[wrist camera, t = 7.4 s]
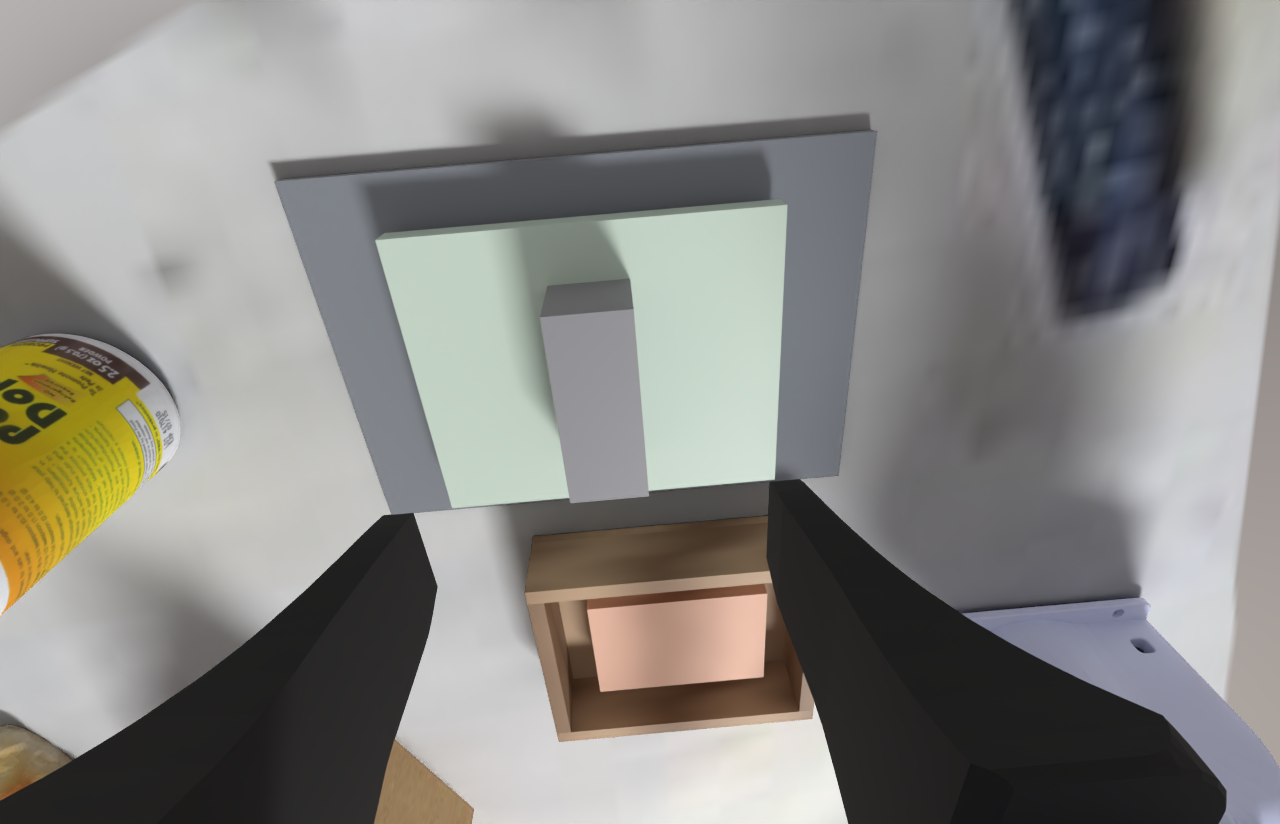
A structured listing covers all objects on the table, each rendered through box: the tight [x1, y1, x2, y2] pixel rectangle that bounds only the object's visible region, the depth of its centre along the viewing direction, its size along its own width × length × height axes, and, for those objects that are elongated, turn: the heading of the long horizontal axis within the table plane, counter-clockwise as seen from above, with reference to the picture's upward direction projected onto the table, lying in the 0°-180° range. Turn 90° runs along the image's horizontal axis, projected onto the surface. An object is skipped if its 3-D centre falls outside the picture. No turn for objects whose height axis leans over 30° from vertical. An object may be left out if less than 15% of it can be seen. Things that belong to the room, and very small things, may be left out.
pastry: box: [0, 725, 72, 800], centre depth 30 cm, size 9×7×4 cm
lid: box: [375, 199, 787, 508], centre depth 19 cm, size 11×9×4 cm
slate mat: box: [275, 130, 877, 515], centre depth 20 cm, size 17×12×1 cm
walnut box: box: [525, 516, 814, 742], centre depth 26 cm, size 11×9×3 cm
